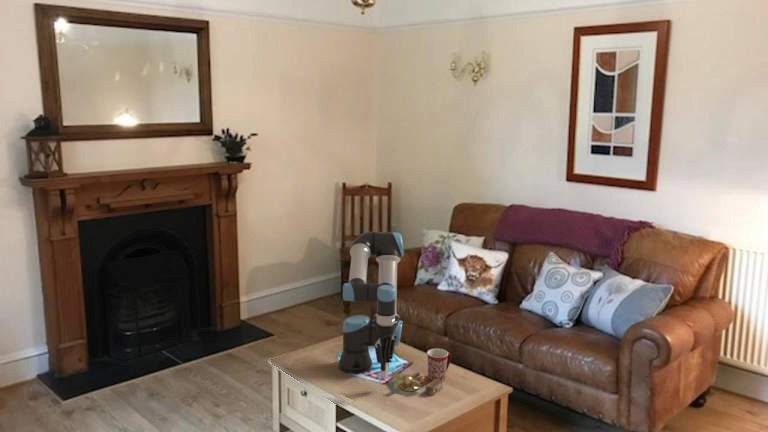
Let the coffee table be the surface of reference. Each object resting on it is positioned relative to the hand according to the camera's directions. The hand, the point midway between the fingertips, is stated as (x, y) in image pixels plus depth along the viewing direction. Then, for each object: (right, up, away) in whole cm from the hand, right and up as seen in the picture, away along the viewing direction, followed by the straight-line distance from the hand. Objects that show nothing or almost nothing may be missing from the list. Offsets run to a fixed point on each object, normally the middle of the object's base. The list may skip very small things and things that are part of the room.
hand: (384, 376), depth 265 cm
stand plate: (+10, -7, +5) cm, 12 cm away
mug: (+24, -5, +14) cm, 28 cm away
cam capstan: (+10, -5, +4) cm, 12 cm away
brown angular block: (+21, -8, +1) cm, 22 cm away
